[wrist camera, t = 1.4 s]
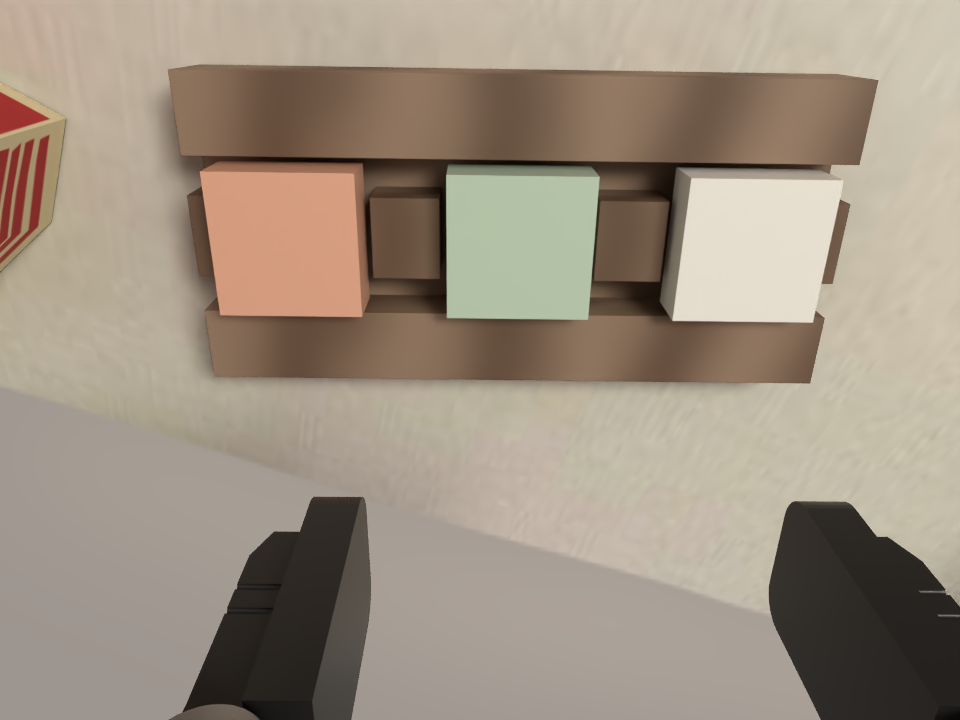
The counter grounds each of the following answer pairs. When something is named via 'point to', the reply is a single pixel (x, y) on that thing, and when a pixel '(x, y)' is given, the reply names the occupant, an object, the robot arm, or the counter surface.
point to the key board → (515, 141)
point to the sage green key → (520, 241)
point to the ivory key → (748, 243)
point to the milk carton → (26, 169)
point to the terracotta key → (287, 237)
